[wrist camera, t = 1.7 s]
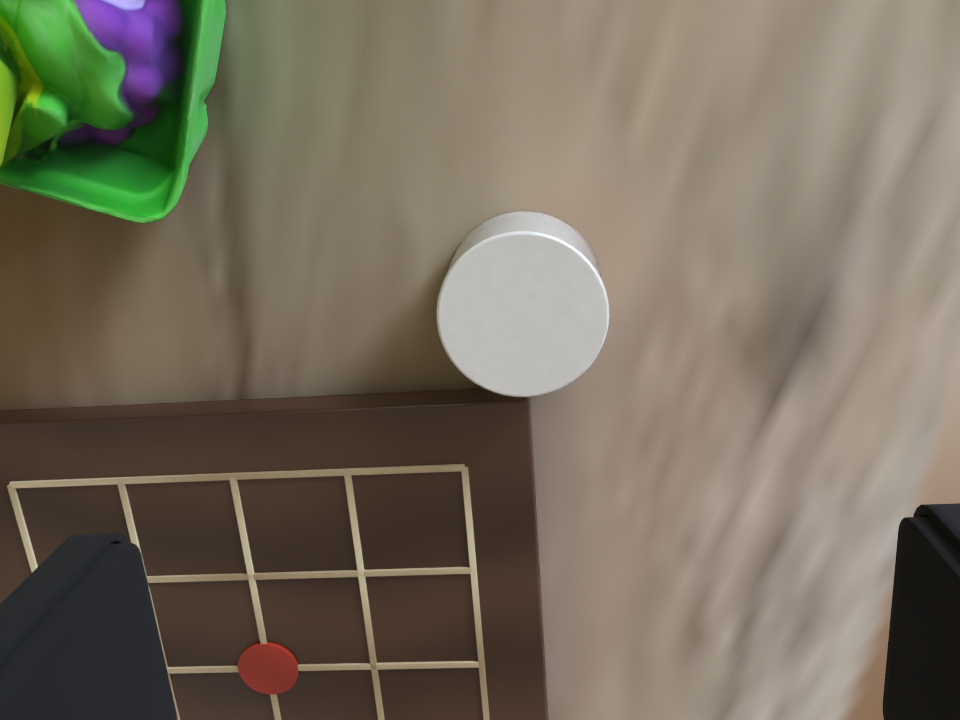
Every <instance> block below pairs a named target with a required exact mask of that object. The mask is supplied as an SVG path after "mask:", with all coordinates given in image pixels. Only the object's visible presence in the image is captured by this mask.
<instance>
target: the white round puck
mask: <svg viewBox="0 0 960 720" xmlns="http://www.w3.org/2000/svg"><path fill="white" fill-rule="evenodd" d="M609 313H610V312H609V301H608V297H607V293H606V289H605V286H604V282H603V279H602V276H601V273H600V269H599V266H598V263H597V261H596V258H595V255H594V254H593V252H592V250H591V248H590V246H589V245H588V244H587V242H586V241H585V240H584V238H583V237H582V236H581V235H580V234H579V233H578V232H577V231H576V230H574V229H573V228H572V227H570V226H569V225H568V224H566V223H564V222H563V221H561V220H559V219H557V218H554V217H552V216H549V215H546V214H542V213H537V212H511V213H506V214H503V215H499V216H496V217H494V218H492V219H489V220H487V221H486V222H484V223H482V224H480V225H479V226H478V227H476V228H475V229H474V230H473V231H471V233H470V234H469V235H468V236H467V237H466V238H465V239H464V240H463V241H462V243H461V244H460V245H459V247H458V249H457V250H456V252H455V254H454V256H453V258H452V261H451V263H450V266H449V268H448V271H447V273H446V276H445V278H444V281H443V283H442V286H441V288H440V291H439V295H438V299H437V308H436V322H437V328H438V333H439V336H440V340H441V343H442V345H443V347H444V349H445V352H446V353H447V355H448V356H449V358H450V360H451V361H452V362H453V364H454V365H455V366H456V367H457V369H458V370H459V371H460V372H461V373H462V374H464V375H465V376H466V377H467V378H468V379H470V380H471V381H472V382H474V383H475V384H477V385H479V386H481V387H482V388H484V389H487V390H489V391H492V392H494V393H498V394H502V395H505V396H513V397H533V396H540V395H544V394H549V393H551V392H554V391H557V390H559V389H561V388H563V387H565V386H567V385H569V384H570V383H572V382H573V381H575V380H576V379H578V378H579V377H580V376H581V375H582V374H583V373H584V372H586V371H587V369H588V368H589V367H590V366H591V365H592V364H593V362H594V361H595V359H596V358H597V356H598V355H599V353H600V351H601V349H602V347H603V345H604V342H605V339H606V336H607V331H608V326H609Z"/></svg>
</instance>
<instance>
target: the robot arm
mask: <svg viewBox="0 0 960 720" xmlns="http://www.w3.org/2000/svg"><path fill="white" fill-rule="evenodd" d="M883 716H884V720H960V504H932V505H920V506H919V507H918V508H917V509H916V511H915V513H914V517H909V518H904V519H902V521H901V523H900V525H899V531H898V541H897V552H896V563H895V575H894V586H893V597H892V608H891V619H890V630H889V641H888V652H887V664H886V674H885V685H884V696H883ZM0 720H177V713H176V708H175V704H174V699H173V695H172V690H171V686H170V681H169V677H168V672H167V668H166V663H165V659H164V654H163V650H162V645H161V641H160V636H159V632H158V627H157V623H156V618H155V614H154V609H153V605H152V600H151V596H150V591H149V587H148V582H147V578H146V573H145V569H144V564H143V560H142V555H141V552H140V549H139V548H138V546H137V545H135V544H134V543H128V542H127V540H126V538H125V537H124V536H123V535H122V534H120V533H119V532H115V533H86V534H72V535H71V536H69V537H68V538H67V539H66V540H65V541H64V542H63V543H62V544H61V545H60V546H59V547H58V548H57V549H56V550H55V551H54V552H53V553H52V554H51V555H50V556H49V557H48V558H46V559H45V560H44V561H43V562H42V563H41V564H40V565H39V566H38V567H37V568H36V569H35V570H34V571H33V572H32V573H31V574H30V575H29V576H28V577H27V578H26V579H25V580H24V581H23V582H22V583H21V584H20V585H19V586H18V587H17V588H16V589H15V590H14V591H13V592H12V593H11V594H10V595H9V596H8V597H7V598H6V599H5V600H4V601H3V602H2V603H1V604H0Z"/></svg>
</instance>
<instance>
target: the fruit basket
mask: <svg viewBox="0 0 960 720" xmlns="http://www.w3.org/2000/svg"><path fill="white" fill-rule="evenodd" d="M225 16H226V6H225V0H0V184H3V185H6V186H10V187H13V188H16V189H19V190H23V191H27V192H31V193H34V194H38V195H41V196H44V197H47V198H51V199H55V200H59V201H63V202H66V203H69V204H72V205H76V206H79V207H82V208H86V209H89V210H93V211H97V212H100V213H104V214H107V215H110V216H114V217H118V218H121V219H125V220H128V221H132V222H137V223H151V222H156V221H159V220H161V219H163V218H164V217H165V216H167V215H168V214H169V213H170V212H171V211H172V210H173V209H174V208H175V206H176V204H177V203H178V201H179V198H180V196H181V194H182V191H183V189H184V186H185V183H186V180H187V176H188V171H189V166H190V164H191V162H192V160H193V158H194V156H195V155H196V153H197V151H198V149H199V147H200V145H201V143H202V142H203V140H204V138H205V136H206V133H207V127H208V116H207V106H206V104H205V102H204V101H205V98H207V97H208V95H209V92H210V90H211V88H212V86H213V85H214V83H215V78H216V72H217V67H218V61H219V55H220V48H221V42H222V36H223V30H224V24H225Z"/></svg>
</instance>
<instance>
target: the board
mask: <svg viewBox="0 0 960 720" xmlns="http://www.w3.org/2000/svg"><path fill="white" fill-rule="evenodd" d="M115 532H119V533H120V534H122V535H123V536H124V537H125V538H126V540H127V542H128V543H134V544H135V545H137V546H138V548H139V549H140V552H141V555H142V560H143V564H144V569H145V573H146V578H147V582H148V587H149V591H150V596H151V600H152V605H153V609H154V614H155V618H156V623H157V627H158V632H159V636H160V641H161V645H162V650H163V654H164V659H165V663H166V668H167V672H168V677H169V681H170V686H171V690H172V695H173V699H174V704H175V708H176V713H177V720H548V704H547V686H546V669H545V652H544V634H543V617H542V599H541V582H540V565H539V547H538V530H537V513H536V495H535V478H534V460H533V443H532V426H531V408H530V397H513V396H505V395H502V394H498V393H494V392H492V391H489V390H487V389H466V390H444V391H422V392H400V393H379V394H357V395H335V396H313V397H292V398H270V399H248V400H226V401H205V402H183V403H161V404H139V405H118V406H96V407H74V408H53V409H31V410H9V411H0V604H1V603H2V602H3V601H4V600H5V599H6V598H7V597H8V596H9V595H10V594H11V593H12V592H13V591H14V590H15V589H16V588H17V587H18V586H19V585H20V584H21V583H22V582H23V581H24V580H25V579H26V578H27V577H28V576H29V575H30V574H31V573H32V572H33V571H34V570H35V569H36V568H37V567H38V566H39V565H40V564H41V563H42V562H43V561H44V560H45V559H46V558H48V557H49V556H50V555H51V554H52V553H53V552H54V551H55V550H56V549H57V548H58V547H59V546H60V545H61V544H62V543H63V542H64V541H65V540H66V539H67V538H68V537H69V536H71V535H72V534H86V533H115Z"/></svg>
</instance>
